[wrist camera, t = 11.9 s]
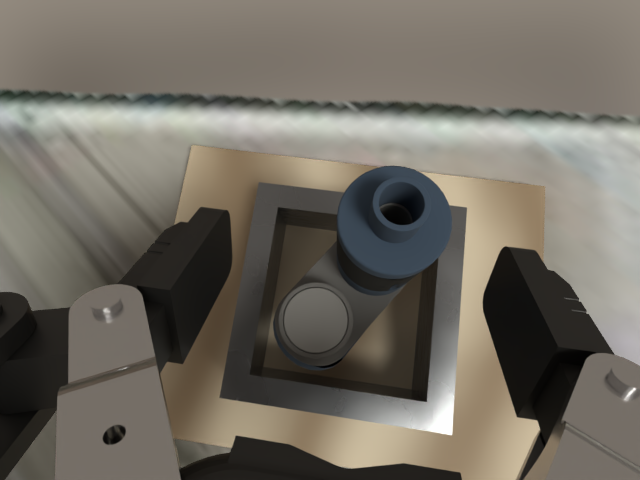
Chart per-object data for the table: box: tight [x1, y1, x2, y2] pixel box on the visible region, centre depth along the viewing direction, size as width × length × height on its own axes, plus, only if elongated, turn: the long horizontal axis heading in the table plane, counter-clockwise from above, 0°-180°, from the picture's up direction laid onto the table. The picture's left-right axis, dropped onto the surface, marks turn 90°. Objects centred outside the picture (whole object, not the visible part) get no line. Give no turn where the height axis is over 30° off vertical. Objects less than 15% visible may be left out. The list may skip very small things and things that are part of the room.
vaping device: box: [273, 166, 452, 371], centre depth 13 cm, size 3×5×12 cm, turn 137°
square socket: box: [219, 182, 467, 435], centre depth 17 cm, size 9×9×3 cm
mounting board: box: [160, 145, 545, 480], centre depth 19 cm, size 18×14×1 cm
